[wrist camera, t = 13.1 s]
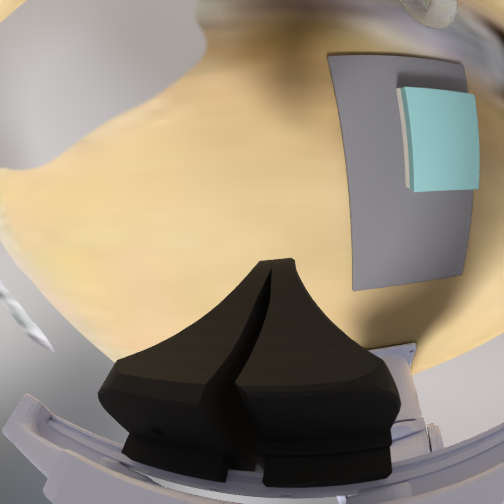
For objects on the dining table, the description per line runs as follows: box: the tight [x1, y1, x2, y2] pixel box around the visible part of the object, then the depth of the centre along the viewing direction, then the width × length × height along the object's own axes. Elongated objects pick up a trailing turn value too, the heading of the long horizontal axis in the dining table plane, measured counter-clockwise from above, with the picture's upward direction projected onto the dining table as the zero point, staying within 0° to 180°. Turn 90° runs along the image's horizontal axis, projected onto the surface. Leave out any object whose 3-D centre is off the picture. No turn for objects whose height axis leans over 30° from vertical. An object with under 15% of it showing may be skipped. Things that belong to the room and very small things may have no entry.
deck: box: [396, 87, 479, 192], centre depth 14 cm, size 7×2×6 cm
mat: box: [327, 55, 473, 291], centre depth 16 cm, size 18×11×1 cm, turn 12°
